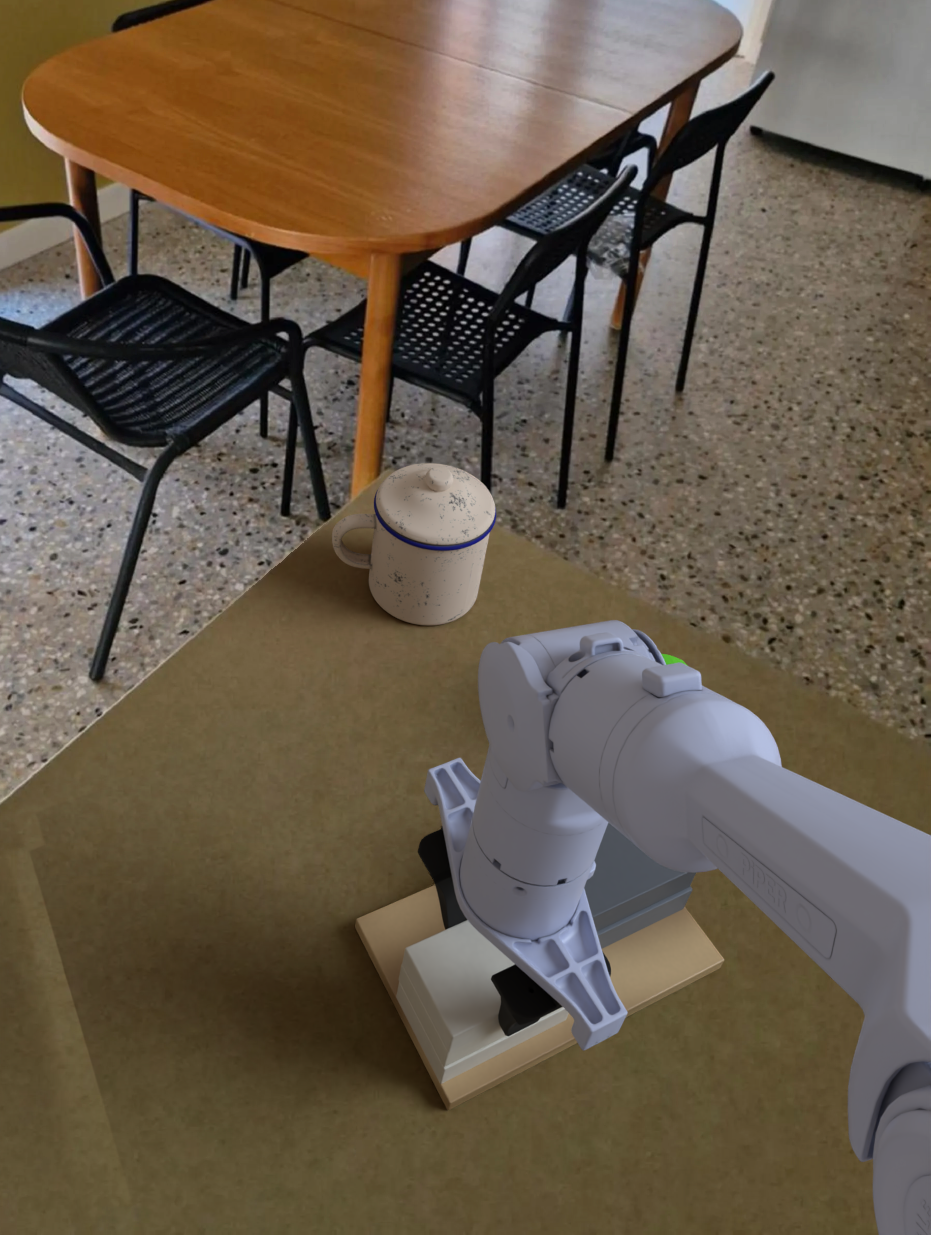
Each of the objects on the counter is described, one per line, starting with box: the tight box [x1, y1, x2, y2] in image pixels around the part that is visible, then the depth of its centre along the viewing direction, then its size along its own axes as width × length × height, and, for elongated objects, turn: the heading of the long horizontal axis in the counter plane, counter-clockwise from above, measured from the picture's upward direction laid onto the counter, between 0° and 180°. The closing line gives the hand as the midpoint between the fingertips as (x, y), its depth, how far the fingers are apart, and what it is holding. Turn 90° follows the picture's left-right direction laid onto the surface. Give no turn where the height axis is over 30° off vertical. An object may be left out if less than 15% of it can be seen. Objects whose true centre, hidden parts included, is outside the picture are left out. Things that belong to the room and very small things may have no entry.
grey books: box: [584, 822, 697, 949], centre depth 66 cm, size 6×9×4 cm, turn 116°
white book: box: [402, 920, 515, 1052], centre depth 58 cm, size 5×8×2 cm, turn 116°
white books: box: [396, 965, 569, 1084], centre depth 60 cm, size 5×8×4 cm, turn 116°
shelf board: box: [354, 884, 725, 1111], centre depth 65 cm, size 11×18×1 cm, turn 116°
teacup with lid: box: [331, 462, 497, 626], centre depth 84 cm, size 12×9×12 cm
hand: (490, 973), depth 59 cm, fingers closed on white book, 5 cm apart
